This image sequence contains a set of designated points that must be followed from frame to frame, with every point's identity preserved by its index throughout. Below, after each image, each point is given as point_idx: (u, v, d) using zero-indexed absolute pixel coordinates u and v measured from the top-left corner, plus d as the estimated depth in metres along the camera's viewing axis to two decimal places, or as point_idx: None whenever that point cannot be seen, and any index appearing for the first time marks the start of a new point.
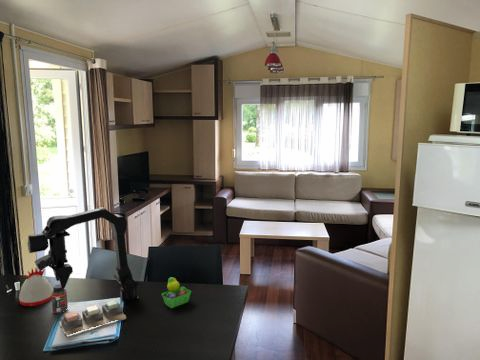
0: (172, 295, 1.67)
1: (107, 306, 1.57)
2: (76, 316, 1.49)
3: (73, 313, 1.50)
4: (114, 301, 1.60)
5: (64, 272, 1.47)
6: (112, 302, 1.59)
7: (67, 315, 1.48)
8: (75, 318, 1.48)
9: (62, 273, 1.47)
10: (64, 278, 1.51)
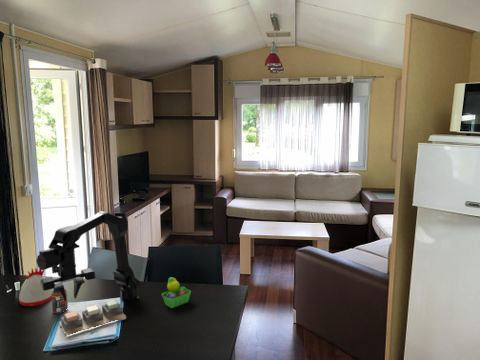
0: (172, 295, 1.67)
1: (107, 306, 1.57)
2: (76, 316, 1.49)
3: (73, 313, 1.50)
4: (114, 301, 1.60)
5: (41, 286, 1.41)
6: (112, 302, 1.59)
7: (67, 315, 1.48)
8: (75, 318, 1.48)
9: (41, 285, 1.42)
10: (61, 291, 1.45)
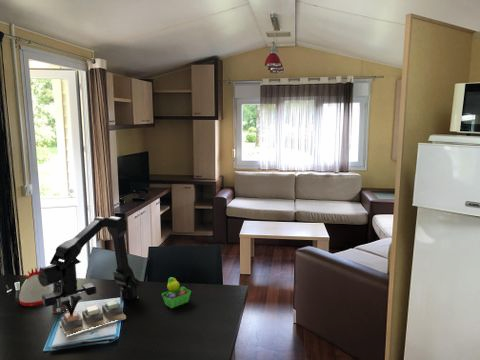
0: (172, 295, 1.67)
1: (107, 306, 1.57)
2: (76, 316, 1.49)
3: (73, 313, 1.50)
4: (114, 301, 1.60)
5: (43, 301, 1.42)
6: (112, 302, 1.59)
7: (67, 315, 1.48)
8: (75, 318, 1.48)
9: (43, 301, 1.43)
10: None
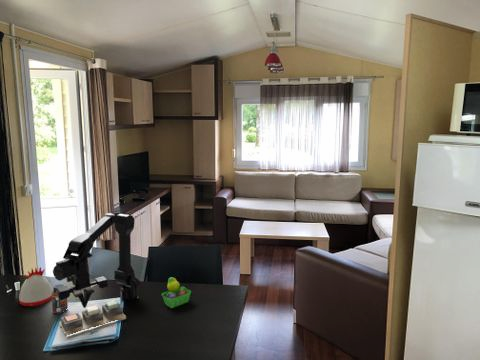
0: (172, 295, 1.67)
1: (107, 306, 1.57)
2: (76, 319, 1.49)
3: (73, 316, 1.50)
4: (114, 301, 1.60)
5: (57, 295, 1.45)
6: (112, 302, 1.59)
7: (67, 318, 1.49)
8: None
9: (57, 294, 1.46)
10: None
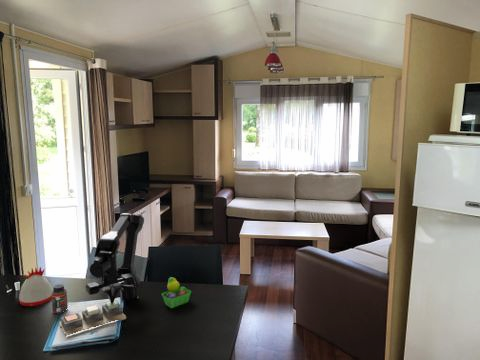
0: (172, 295, 1.67)
1: (107, 306, 1.57)
2: (76, 319, 1.49)
3: (73, 316, 1.50)
4: (114, 301, 1.60)
5: (87, 290, 1.52)
6: None
7: (67, 318, 1.49)
8: None
9: (87, 290, 1.53)
10: (108, 294, 1.57)
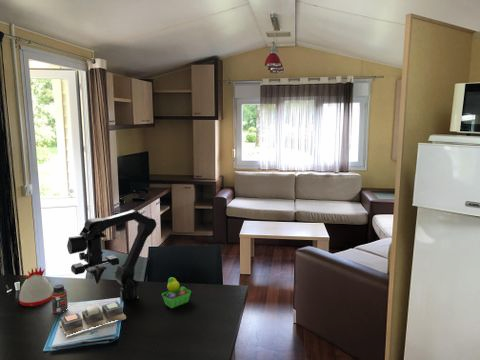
0: (172, 295, 1.67)
1: None
2: (76, 319, 1.49)
3: (73, 316, 1.50)
4: (114, 304, 1.60)
5: (73, 270, 1.57)
6: (112, 305, 1.59)
7: (67, 318, 1.49)
8: None
9: (72, 270, 1.57)
10: (93, 274, 1.62)
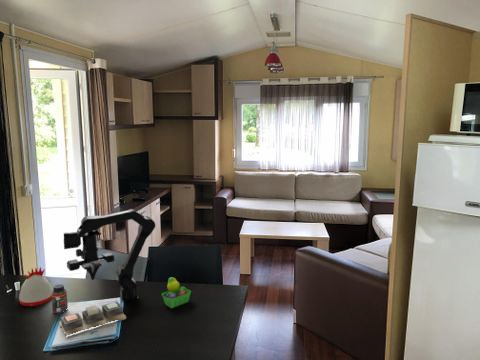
0: (172, 295, 1.67)
1: None
2: (76, 319, 1.49)
3: (73, 316, 1.50)
4: (114, 304, 1.60)
5: (68, 267, 1.60)
6: (112, 305, 1.59)
7: (67, 318, 1.49)
8: None
9: (67, 267, 1.61)
10: (88, 271, 1.65)
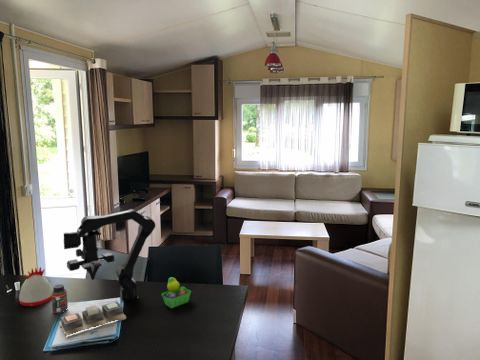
0: (172, 295, 1.67)
1: None
2: (76, 319, 1.49)
3: (73, 316, 1.50)
4: (114, 304, 1.60)
5: (68, 267, 1.60)
6: (112, 305, 1.59)
7: (67, 318, 1.49)
8: None
9: (67, 267, 1.61)
10: (88, 271, 1.65)
